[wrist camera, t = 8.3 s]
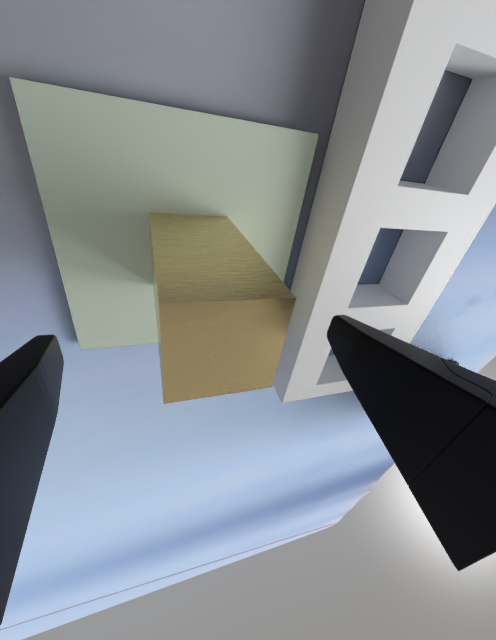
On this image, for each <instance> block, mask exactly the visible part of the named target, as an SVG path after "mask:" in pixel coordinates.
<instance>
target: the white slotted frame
mask: <svg viewBox="0 0 496 640" xmlns="http://www.w3.org/2000/svg"><path fill="white" fill-rule="evenodd" d="M445 70H447V71H450V72H453V73H456V74H459V75H462V76H465V77H468V78H471V79H472V81H471V84H470V86H469V88H468V90H467V92H466V95H465V97H464V99H463V101H462V103H461V105H460V108H459V110H458V112H457V114H456V116H455V119H454V121H453V123H452V125H451V127H450V130H449V132H448V134H447V136H446V138H445V140H444V143H443V145H442V147H441V149H440V151H439V154H438V156H437V158H436V160H435V162H434V164H433V167H432V169H431V171H430V173H429V175H428V178H427V180H426V182H425V184H422V183H415V182H408V181H400V179H401V176H402V174H403V171H404V169H405V166H406V164H407V162H408V159H409V157H410V154H411V152H412V149H413V147H414V144H415V142H416V140H417V137H418V135H419V132H420V130H421V127H422V125H423V122H424V120H425V118H426V115H427V113H428V110H429V108H430V105H431V103H432V100H433V98H434V96H435V93H436V91H437V88H438V86H439V83H440V81H441V78H442V76H443V73H444V71H445ZM495 203H496V0H365V4H364V8H363V12H362V16H361V20H360V23H359V27H358V31H357V35H356V39H355V43H354V47H353V50H352V54H351V58H350V62H349V66H348V70H347V74H346V77H345V81H344V85H343V89H342V93H341V97H340V100H339V104H338V108H337V112H336V116H335V120H334V124H333V127H332V131H331V135H330V139H329V143H328V147H327V151H326V154H325V158H324V162H323V166H322V170H321V174H320V178H319V181H318V185H317V189H316V193H315V197H314V201H313V205H312V208H311V212H310V216H309V220H308V224H307V228H306V232H305V235H304V239H303V243H302V247H301V251H300V255H299V258H298V262H297V266H296V270H295V274H294V278H293V282H292V285H291V289H290V291H291V292H292V293H293V294H294V296H295V297H296V301H295V305H294V308H293V312H292V316H291V319H290V323H289V326H288V330H287V334H286V337H285V341H284V344H283V348H282V352H281V355H280V359H279V362H278V366H277V370H276V373H275V377H274V381H273V385H274V387H275V389H276V391H277V393H278V395H279V397H280V399H281V401H282V403H287V402H292V401H298V400H303V399H309V398H315V397H320V396H326V395H331V394H337V393H343V392H348V391H353V390H352V388H351V386H350V384H349V383H348V381H347V379H346V377H345V376H344V374H343V372H342V370H341V368H340V366H339V364H338V361H337V359H336V357H335V355H334V354H332V355H329V352H330V350H331V346H330V344H329V342H328V339H327V331H328V328H329V325H330V323H331V320H332V318H333V317H334V316H335V315H347V316H349V317H351V318H353V319H356V320H358V321H360V322H362V323H364V324H367V325H369V326H371V327H373V328H376V329H378V330H380V331H382V332H385V333H387V334H389V335H391V336H394V337H396V338H398V339H400V340H402V341H405V342H407V343H409V344H410V343H411V341H412V339H413V338H414V336H415V334H416V333H417V331H418V329H419V328H420V326H421V325H422V323H423V321H424V320H425V318H426V316H427V315H428V313H429V311H430V310H431V308H432V307H433V305H434V303H435V302H436V300H437V298H438V297H439V295H440V293H441V292H442V290H443V289H444V287H445V285H446V284H447V282H448V280H449V279H450V277H451V275H452V274H453V272H454V271H455V269H456V267H457V266H458V264H459V262H460V261H461V259H462V257H463V256H464V254H465V253H466V251H467V249H468V248H469V246H470V244H471V243H472V241H473V239H474V238H475V236H476V235H477V233H478V231H479V230H480V228H481V226H482V225H483V223H484V221H485V220H486V218H487V217H488V215H489V213H490V212H491V210H492V208H493V207H494V205H495ZM380 228H392V229H404V230H403V232H402V234H401V237H400V239H399V241H398V243H397V245H396V248H395V250H394V252H393V254H392V256H391V258H390V261H389V263H388V265H387V267H386V269H385V272H384V274H383V276H382V278H381V280H380V283H379V284H358V281H359V279H360V277H361V274H362V272H363V269H364V267H365V264H366V262H367V259H368V257H369V255H370V252H371V250H372V247H373V245H374V242H375V240H376V237H377V235H378V233H379V230H380Z"/></svg>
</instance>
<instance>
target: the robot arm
mask: <svg viewBox="0 0 496 640" xmlns="http://www.w3.org/2000/svg"><path fill="white" fill-rule="evenodd" d="M327 339H328V342H329V344H330V346H331V348H332V350H333V353H334V355H335V357H336V359H337V361H338V364H339V366H340V368H341V370H342V372H343V374H344V376H345V377H346V379H347V381H348V383H349V384H350V386H351V388H352V390H353V391H354V393H355V395H356V397H357V398H358V400H359V402H360V403H361V405H362V407H363V409H364V410H365V412H366V414H367V416H368V417H369V419H370V421H371V422H372V424H373V426H374V428H375V429H376V431H377V433H378V435H379V436H380V438H381V440H382V441H383V443H384V445H385V447H386V448H387V450H388V452H389V454H390V455H391V457H392V459H393V460H394V462H395V464H396V466H397V467H398V469H399V471H400V473H401V474H402V476H403V477H404V479H405V481H406V483H407V485H409V488H410V490H411V492H412V494H413V495H414V497H415V499H416V501H417V502H418V504H419V506H420V507H421V509H422V511H423V513H424V514H425V516H426V518H427V520H428V521H429V523H430V525H431V527H432V528H433V530H434V532H435V534H436V535H437V537H438V539H439V540H440V542H441V544H442V546H443V547H444V549H445V551H446V553H447V554H448V556H449V558H450V559H451V561H452V563H453V564H454V566H455V567H456V569H457V570H458V571H460V570H462V569H464V568H466V567H468V566H470V565H472V564H474V563H476V562H477V561H479V560H481V559H483V558H485V557H487V556H489V555H491V554H493V553H495V552H496V381H495V380H492V379H490V378H487V377H485V376H482V375H480V374H478V373H475V372H473V371H470V370H468V369H466V368H463V367H461V366H459V363H458V362H457V361H447V360H445V359H443V358H439V357H438V356H436V355H434V354H432V353H429V352H427V351H425V350H423V349H420V348H418V347H416V346H414V345H411V344H409V343H407V342H405V341H402V340H400V339H398V338H396V337H394V336H391V335H389V334H387V333H385V332H382V331H380V330H378V329H376V328H373V327H371V326H369V325H367V324H364V323H362V322H360V321H358V320H356V319H353V318H351V317H349V316H347V315H335V316H334V317H333V318H332V320H331V323H330V325H329V328H328V331H327ZM63 365H64V361H63V355H62V352H61V349H60V346H59V343H58V340H57V337H56V336H55V335H39V336H36V337H34V338H33V339H31V340H30V341H29V342H27V343H26V344H24V345H23V346H22V347H20V348H19V349H18V350H16V351H15V352H13V353H12V354H11V355H9V356H8V357H7V358H5V359H4V360H3V361H1V362H0V625H1V623H2V620H3V616H4V612H5V608H6V605H7V601H8V597H9V593H10V590H11V586H12V582H13V578H14V575H15V571H16V567H17V563H18V560H19V556H20V552H21V548H22V545H23V541H24V537H25V534H26V530H27V526H28V522H29V519H30V515H31V511H32V507H33V504H34V500H35V496H36V492H37V489H38V485H39V481H40V477H41V474H42V470H43V466H44V463H45V459H46V455H47V451H48V448H49V444H50V440H51V436H52V433H53V429H54V425H55V421H56V417H57V412H58V405H59V397H60V389H61V381H62V373H63Z"/></svg>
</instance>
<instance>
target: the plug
mask: <svg viewBox="0 0 496 640" xmlns="http://www.w3.org/2000/svg"><path fill="white" fill-rule="evenodd" d="M149 222H150V239H151V256H152V273H153V288H154V300H155V311H156V322H157V333H158V345H159V356H160V367H161V378H162V389H163V401H164V404H166V403H172V402H178V401H185V400H191V399H198V398H204V397H211V396H217V395H223V394H230V393H236V392H243V391H249V390H256V389H262V388H268V387H272V384H273V381H274V377H275V373H276V370H277V366H278V362H279V359H280V355H281V352H282V348H283V344H284V341H285V337H286V334H287V330H288V326H289V323H290V319H291V316H292V312H293V308H294V305H295V301H296V297H295V296H294V294H293V293H292V292H291V291H290V290H289V289H288V287H287V286H286V285H285V284H284V283H283V281H282V280H281V279H280V278H279V277H278V276H277V274H276V273H275V272H274V271H273V270H272V268H271V267H270V266H269V265H268V264H267V263H266V261H265V260H264V259H263V258H262V257H261V255H260V254H259V253H258V252H257V251H256V250H255V248H254V247H253V246H252V245H251V244H250V242H249V241H248V240H247V239H246V238H245V237H244V235H243V234H242V233H241V232H240V231H239V229H238V228H237V227H236V226H235V225H234V224H233V222H232V221H231V220H230V219H229V218H228V217H219V216H203V215H186V214H169V213H153V212H149Z"/></svg>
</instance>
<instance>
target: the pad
mask: <svg viewBox="0 0 496 640" xmlns="http://www.w3.org/2000/svg"><path fill="white" fill-rule="evenodd" d="M9 78H10V82H11V86H12V90H13V94H14V97H15V101H16V105H17V109H18V113H19V117H20V120H21V124H22V128H23V132H24V136H25V140H26V143H27V147H28V151H29V155H30V159H31V163H32V166H33V170H34V174H35V178H36V182H37V186H38V189H39V193H40V197H41V201H42V205H43V208H44V212H45V216H46V220H47V224H48V228H49V231H50V235H51V239H52V243H53V247H54V251H55V254H56V258H57V262H58V266H59V270H60V274H61V277H62V281H63V285H64V289H65V293H66V297H67V300H68V304H69V308H70V312H71V316H72V320H73V323H74V327H75V331H76V335H77V339H78V343H79V346H80V350H83V349H95V348H106V347H118V346H130V345H142V344H153V343H158V333H157V322H156V311H155V300H154V288H153V273H152V256H151V239H150V222H149V212H153V213H169V214H186V215H203V216H219V217H228V218H229V219H230V220H231V221H232V222H233V224H234V225H235V226H236V227H237V228H238V229H239V231H240V232H241V233H242V234H243V235H244V237H245V238H246V239H247V240H248V241H249V242H250V244H251V245H252V246H253V247H254V248H255V250H256V251H257V252H258V253H259V254H260V255H261V257H262V258H263V259H264V260H265V261H266V263H267V264H268V265H269V266H270V267H271V268H272V270H273V271H274V272H275V273H276V274H277V276H278V277H279V278H280V279H281V280H282V281H283V282H284V278H285V274H286V270H287V266H288V262H289V257H290V253H291V249H292V245H293V241H294V236H295V232H296V228H297V224H298V220H299V216H300V211H301V207H302V203H303V199H304V195H305V191H306V186H307V182H308V178H309V174H310V170H311V166H312V161H313V157H314V153H315V149H316V145H317V140H318V136H319V134H316V133H310V132H305V131H300V130H294V129H289V128H283V127H278V126H272V125H267V124H262V123H256V122H251V121H245V120H240V119H234V118H229V117H224V116H218V115H213V114H207V113H202V112H197V111H191V110H186V109H180V108H175V107H169V106H164V105H159V104H153V103H148V102H142V101H137V100H131V99H126V98H121V97H115V96H110V95H104V94H99V93H93V92H88V91H83V90H77V89H72V88H66V87H61V86H55V85H50V84H45V83H39V82H34V81H28V80H23V79H18V78H12V77H9Z"/></svg>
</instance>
